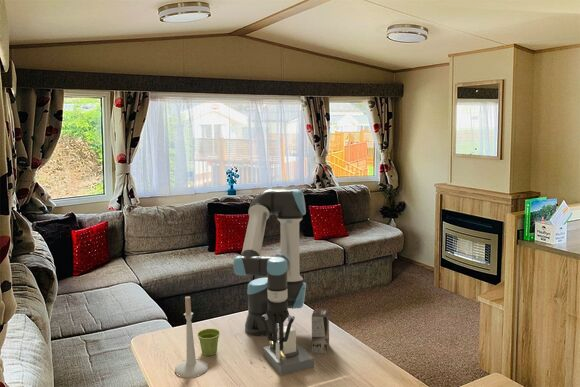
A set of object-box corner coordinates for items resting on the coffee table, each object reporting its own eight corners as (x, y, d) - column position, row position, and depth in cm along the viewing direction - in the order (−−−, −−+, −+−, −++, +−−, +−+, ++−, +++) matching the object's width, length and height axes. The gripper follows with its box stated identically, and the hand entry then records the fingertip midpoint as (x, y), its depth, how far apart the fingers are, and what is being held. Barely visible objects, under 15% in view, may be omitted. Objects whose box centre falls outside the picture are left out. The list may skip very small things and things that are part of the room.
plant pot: (224, 349, 207) (223, 329, 206) (214, 359, 198) (213, 339, 197) (205, 346, 210) (204, 327, 209) (194, 356, 201) (192, 336, 200)
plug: (274, 358, 197) (273, 326, 195) (293, 353, 201) (292, 322, 199) (282, 367, 190) (281, 335, 188) (302, 363, 193) (301, 330, 191)
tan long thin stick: (268, 343, 200) (268, 340, 199) (273, 342, 200) (273, 339, 200) (281, 360, 186) (281, 356, 186) (287, 359, 187) (287, 355, 186)
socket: (263, 356, 200) (263, 344, 200) (294, 348, 206) (294, 337, 205) (281, 376, 184) (280, 363, 183) (314, 368, 190) (313, 355, 189)
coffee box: (327, 354, 201) (326, 317, 198) (311, 353, 202) (311, 316, 200) (329, 344, 210) (329, 308, 207) (314, 343, 211) (314, 307, 208)
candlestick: (188, 358, 200) (184, 288, 195) (214, 364, 194) (211, 292, 190) (167, 373, 188) (163, 299, 184) (195, 380, 183) (191, 304, 178)
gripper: (258, 301, 181) (259, 361, 185) (292, 303, 179) (293, 364, 183) (263, 294, 189) (264, 351, 192) (296, 296, 186) (296, 354, 190)
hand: (278, 357), depth 187 cm, fingers closed
